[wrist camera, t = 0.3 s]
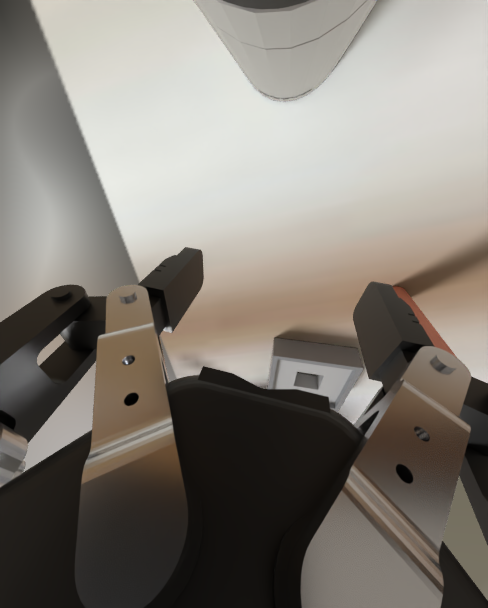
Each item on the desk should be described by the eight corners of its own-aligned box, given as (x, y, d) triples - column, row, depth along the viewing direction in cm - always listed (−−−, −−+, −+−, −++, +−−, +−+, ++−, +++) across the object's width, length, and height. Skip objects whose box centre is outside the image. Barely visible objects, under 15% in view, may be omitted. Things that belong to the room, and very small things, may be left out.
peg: (384, 285, 28) (460, 401, 16) (410, 287, 28) (510, 409, 15) (375, 304, 30) (436, 421, 18) (399, 306, 30) (479, 428, 17)
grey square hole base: (274, 337, 37) (272, 355, 34) (357, 348, 36) (363, 368, 33) (268, 381, 46) (266, 399, 43) (334, 392, 44) (338, 411, 41)
